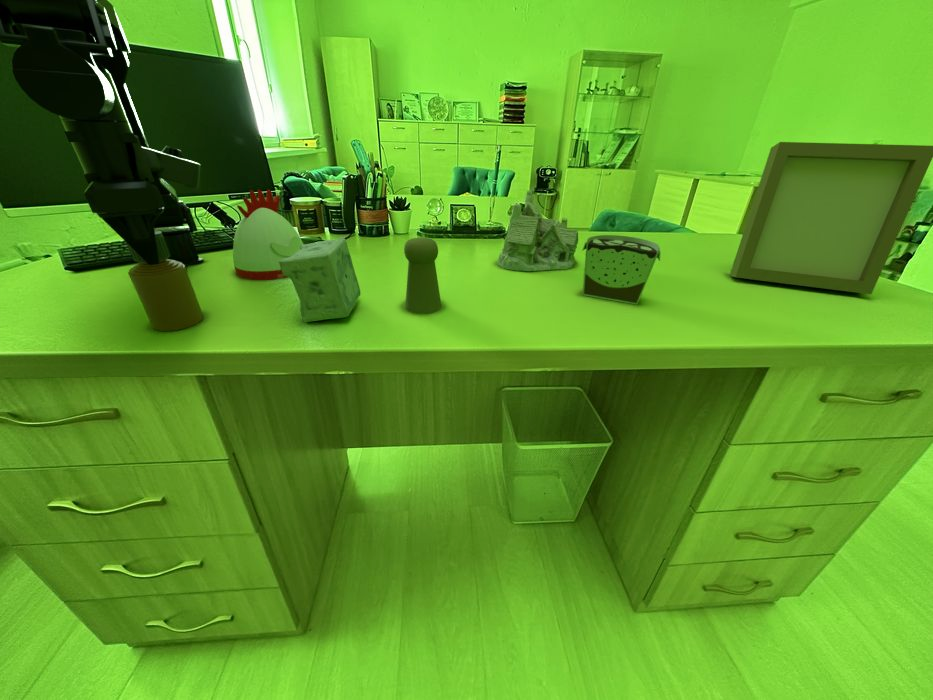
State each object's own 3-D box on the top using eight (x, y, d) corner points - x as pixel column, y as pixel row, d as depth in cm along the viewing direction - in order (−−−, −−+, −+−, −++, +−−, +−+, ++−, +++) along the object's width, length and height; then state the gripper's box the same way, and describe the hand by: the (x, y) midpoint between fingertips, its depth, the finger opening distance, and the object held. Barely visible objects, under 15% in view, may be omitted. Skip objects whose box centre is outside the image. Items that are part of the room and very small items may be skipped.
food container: (647, 294, 68) (663, 239, 63) (646, 306, 63) (663, 247, 58) (580, 283, 72) (590, 231, 67) (574, 293, 67) (584, 238, 62)
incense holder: (313, 299, 63) (300, 237, 57) (362, 299, 63) (354, 237, 58) (292, 324, 54) (275, 254, 49) (349, 324, 54) (338, 254, 49)
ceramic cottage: (487, 263, 81) (497, 190, 74) (521, 251, 93) (532, 187, 86) (552, 283, 74) (570, 204, 67) (580, 266, 86) (597, 199, 79)
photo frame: (868, 299, 68) (962, 146, 56) (733, 281, 75) (790, 141, 63) (833, 275, 80) (905, 145, 68) (720, 262, 87) (766, 141, 75)
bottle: (190, 309, 58) (160, 231, 52) (212, 319, 55) (182, 237, 49) (144, 324, 53) (105, 240, 47) (165, 335, 50) (126, 247, 44)
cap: (157, 262, 48) (147, 237, 46) (126, 262, 48) (114, 237, 46) (177, 254, 51) (168, 230, 49) (148, 253, 51) (138, 230, 49)
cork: (447, 302, 63) (446, 236, 57) (432, 316, 58) (430, 245, 52) (415, 297, 64) (411, 232, 59) (398, 310, 59) (393, 241, 54)
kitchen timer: (324, 266, 78) (311, 189, 70) (263, 284, 68) (239, 197, 60) (284, 255, 84) (267, 183, 77) (222, 270, 74) (196, 190, 67)
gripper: (192, 123, 40) (235, 264, 48) (174, 124, 52) (210, 236, 60) (48, 119, 34) (124, 282, 41) (65, 121, 46) (121, 246, 54)
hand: (152, 258), depth 49 cm, fingers open, 6 cm apart
